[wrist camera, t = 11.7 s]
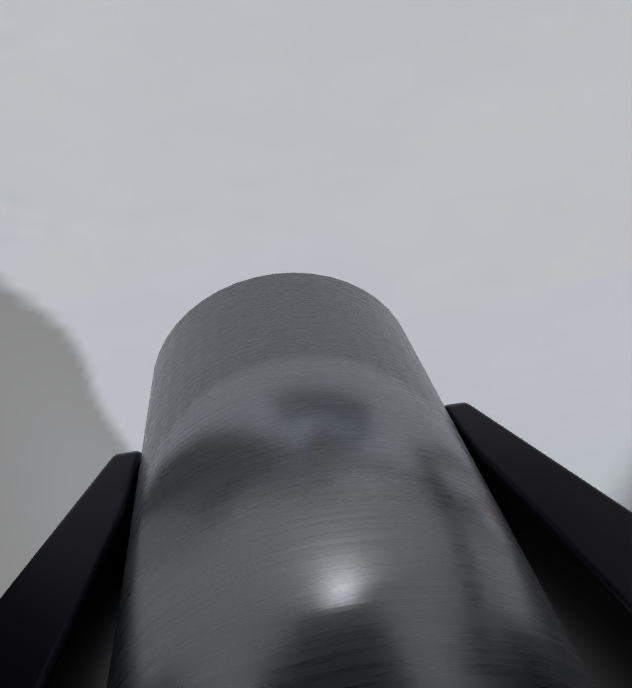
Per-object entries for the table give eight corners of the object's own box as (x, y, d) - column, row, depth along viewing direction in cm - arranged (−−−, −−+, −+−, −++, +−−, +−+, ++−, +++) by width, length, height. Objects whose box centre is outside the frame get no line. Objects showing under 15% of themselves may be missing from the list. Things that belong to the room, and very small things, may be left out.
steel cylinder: (418, 256, 9) (739, 691, 4) (407, 461, 12) (579, 889, 7) (121, 292, 9) (-42, 857, 3) (181, 497, 12) (151, 994, 6)
